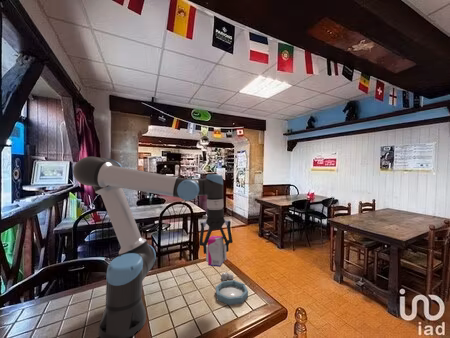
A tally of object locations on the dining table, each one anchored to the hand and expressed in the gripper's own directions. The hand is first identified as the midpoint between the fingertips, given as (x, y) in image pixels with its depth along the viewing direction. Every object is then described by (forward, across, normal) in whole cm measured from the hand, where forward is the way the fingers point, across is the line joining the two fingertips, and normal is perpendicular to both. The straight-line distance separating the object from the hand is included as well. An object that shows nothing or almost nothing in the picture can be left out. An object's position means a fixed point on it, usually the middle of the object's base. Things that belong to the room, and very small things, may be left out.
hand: (216, 259), depth 87 cm
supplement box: (+2, 0, 0) cm, 2 cm away
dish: (+18, +7, +2) cm, 19 cm away
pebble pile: (+17, +8, +16) cm, 25 cm away
